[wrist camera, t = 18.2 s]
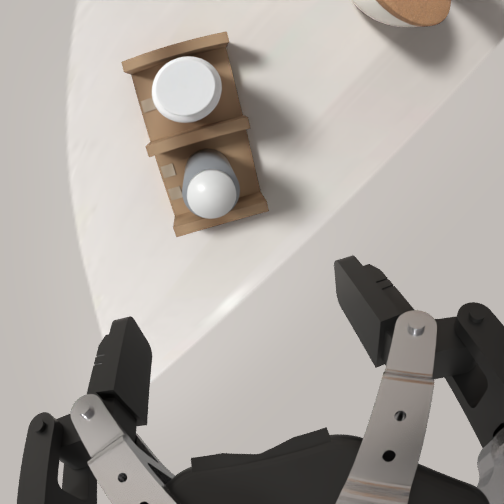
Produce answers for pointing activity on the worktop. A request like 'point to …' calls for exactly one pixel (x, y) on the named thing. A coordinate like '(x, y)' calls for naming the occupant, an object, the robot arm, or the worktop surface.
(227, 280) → the worktop surface
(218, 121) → the rack
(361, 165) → the worktop surface
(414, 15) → the lidded jar
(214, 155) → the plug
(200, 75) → the pill bottle
